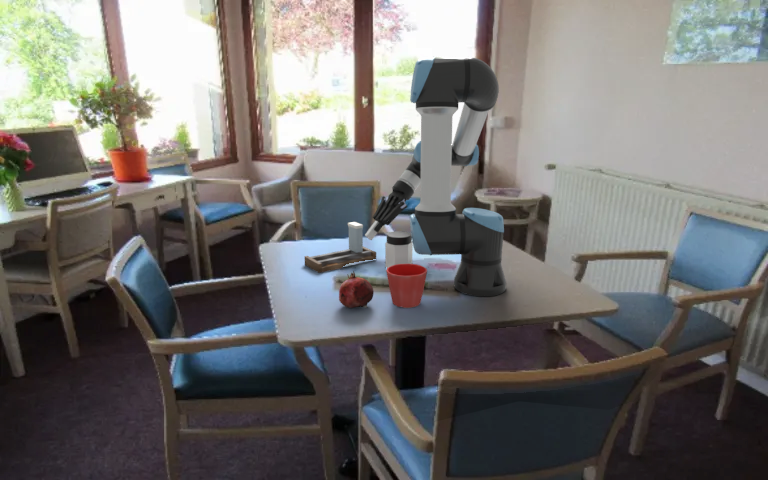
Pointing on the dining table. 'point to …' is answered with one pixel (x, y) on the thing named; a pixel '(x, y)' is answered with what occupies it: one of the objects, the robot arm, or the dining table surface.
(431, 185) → the robot arm
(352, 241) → the slider tab
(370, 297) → the fruit
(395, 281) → the flower pot
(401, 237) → the jar
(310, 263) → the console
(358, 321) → the dining table surface
